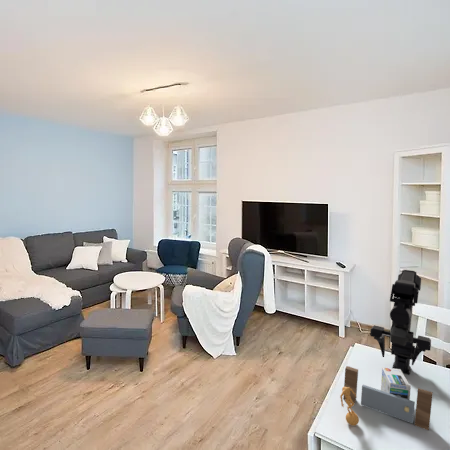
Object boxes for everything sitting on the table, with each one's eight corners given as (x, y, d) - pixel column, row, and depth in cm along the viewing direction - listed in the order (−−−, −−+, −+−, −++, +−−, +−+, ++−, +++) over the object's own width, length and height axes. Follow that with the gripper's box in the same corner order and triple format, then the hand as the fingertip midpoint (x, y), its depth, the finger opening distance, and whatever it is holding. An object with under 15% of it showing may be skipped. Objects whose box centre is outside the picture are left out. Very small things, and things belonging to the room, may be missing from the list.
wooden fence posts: (344, 396, 120) (346, 365, 118) (429, 426, 105) (432, 392, 104) (343, 399, 118) (345, 368, 117) (428, 430, 103) (432, 395, 102)
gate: (361, 402, 115) (362, 384, 115) (413, 421, 107) (414, 401, 106) (360, 406, 114) (361, 387, 113) (412, 425, 105) (414, 405, 104)
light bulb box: (409, 415, 110) (411, 386, 109) (387, 412, 112) (390, 383, 110) (398, 395, 121) (401, 368, 119) (379, 393, 122) (381, 366, 121)
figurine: (350, 433, 102) (352, 398, 100) (333, 422, 106) (335, 388, 105) (364, 422, 107) (366, 388, 105) (347, 412, 111) (349, 379, 110)
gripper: (369, 316, 113) (365, 360, 114) (432, 330, 103) (427, 378, 104) (374, 309, 123) (370, 350, 123) (432, 322, 112) (428, 366, 113)
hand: (397, 360), depth 116 cm, fingers open, 9 cm apart
